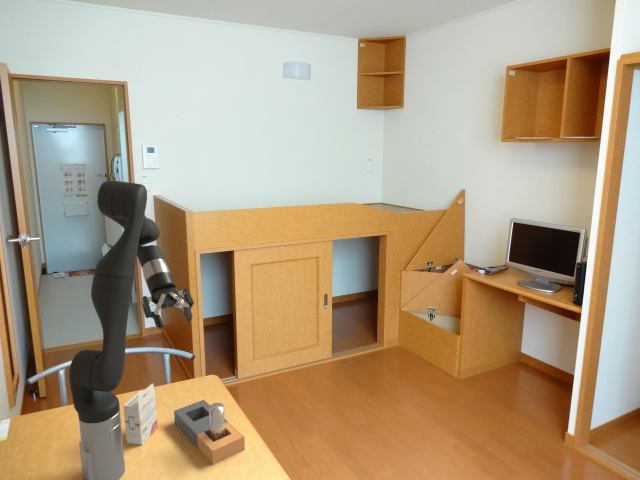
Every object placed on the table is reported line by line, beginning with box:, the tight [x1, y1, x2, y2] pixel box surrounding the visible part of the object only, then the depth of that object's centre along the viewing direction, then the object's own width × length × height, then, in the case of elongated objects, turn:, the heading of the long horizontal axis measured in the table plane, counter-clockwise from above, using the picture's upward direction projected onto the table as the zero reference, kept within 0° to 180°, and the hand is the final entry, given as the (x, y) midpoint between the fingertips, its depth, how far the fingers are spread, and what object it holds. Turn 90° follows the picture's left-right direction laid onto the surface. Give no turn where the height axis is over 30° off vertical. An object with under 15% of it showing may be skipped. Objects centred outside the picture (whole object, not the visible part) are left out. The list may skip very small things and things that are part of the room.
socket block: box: [173, 399, 246, 465], centre depth 135 cm, size 10×24×4 cm, turn 40°
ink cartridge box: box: [123, 383, 158, 446], centre depth 134 cm, size 9×5×15 cm, turn 168°
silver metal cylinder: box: [209, 402, 226, 442], centre depth 130 cm, size 4×4×12 cm
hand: (176, 324), depth 137 cm, fingers open, 8 cm apart
